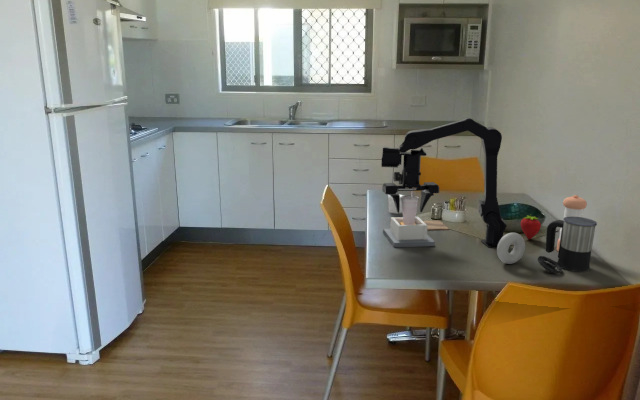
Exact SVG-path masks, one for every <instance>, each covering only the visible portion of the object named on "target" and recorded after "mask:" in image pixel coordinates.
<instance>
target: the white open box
mask: <svg viewBox="0 0 640 400" xmlns="http://www.w3.org/2000/svg"><path fill="white" fill-rule="evenodd" d="M423 221H424V220H422V219H421V218H420V217H419V216H416V217H415V224H416V225H400V222H403V216H401V217H390V225H389V226H390V227H389V228H383V229H382V233H383V235H384V236H385V237H386V239H387V240H388V241H389V243H390V244H391V245H392V247H394V248H409V247H410V248H411V247H414V248H415V247H435V243H436V242H435V240H434V239H433V238H432V237H430V235H428V230H427V225H426V224H425V223H424V222H423Z"/></svg>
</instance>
